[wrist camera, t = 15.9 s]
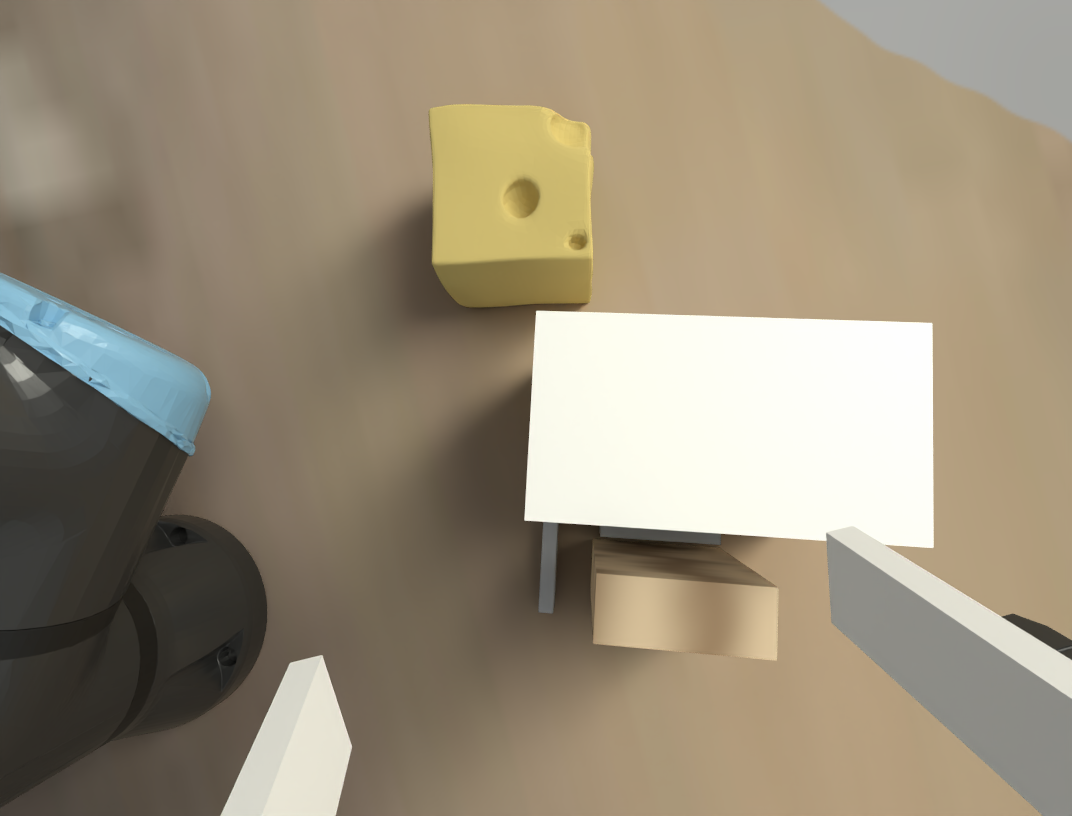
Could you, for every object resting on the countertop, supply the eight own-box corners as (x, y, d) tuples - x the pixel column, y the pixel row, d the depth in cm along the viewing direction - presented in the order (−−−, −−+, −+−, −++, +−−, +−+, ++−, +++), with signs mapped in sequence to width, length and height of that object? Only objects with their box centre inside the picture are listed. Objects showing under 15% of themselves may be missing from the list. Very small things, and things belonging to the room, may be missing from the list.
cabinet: (540, 604, 40) (514, 692, 25) (553, 363, 41) (536, 310, 26) (797, 625, 38) (934, 733, 23) (801, 373, 40) (932, 323, 25)
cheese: (593, 176, 42) (595, 90, 33) (594, 312, 41) (597, 267, 32) (460, 182, 43) (424, 101, 33) (459, 316, 42) (421, 273, 32)
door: (589, 601, 40) (592, 663, 28) (592, 538, 40) (596, 573, 28) (717, 611, 39) (776, 680, 27) (719, 547, 39) (778, 587, 27)
